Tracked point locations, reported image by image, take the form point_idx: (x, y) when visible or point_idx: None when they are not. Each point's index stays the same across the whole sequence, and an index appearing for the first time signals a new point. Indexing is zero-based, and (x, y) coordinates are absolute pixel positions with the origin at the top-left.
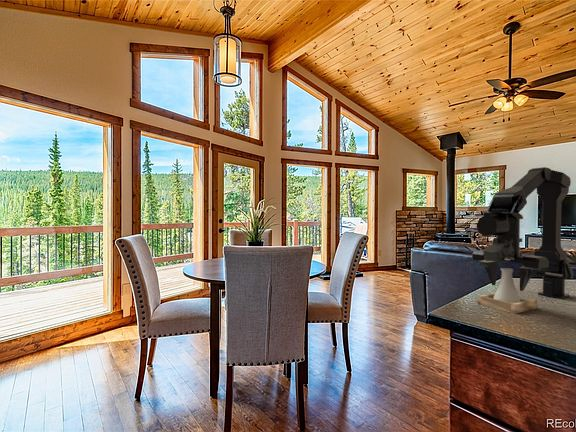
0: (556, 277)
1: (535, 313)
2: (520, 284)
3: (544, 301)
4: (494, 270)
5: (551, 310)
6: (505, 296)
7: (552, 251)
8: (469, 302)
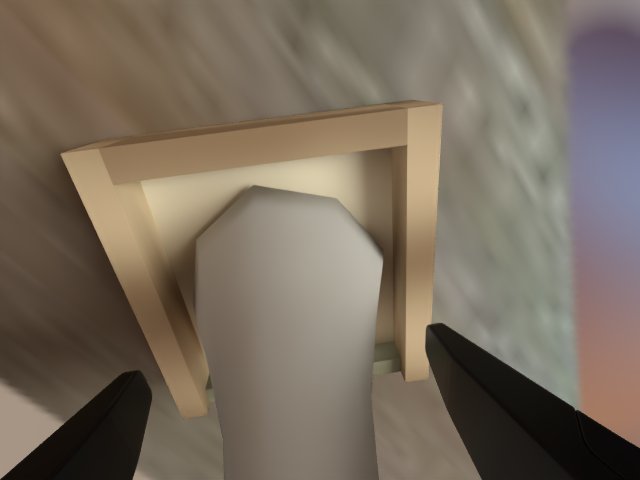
0: None
1: (96, 280)
2: (82, 431)
3: None
4: None
5: None
6: (239, 246)
7: None
8: (474, 72)
